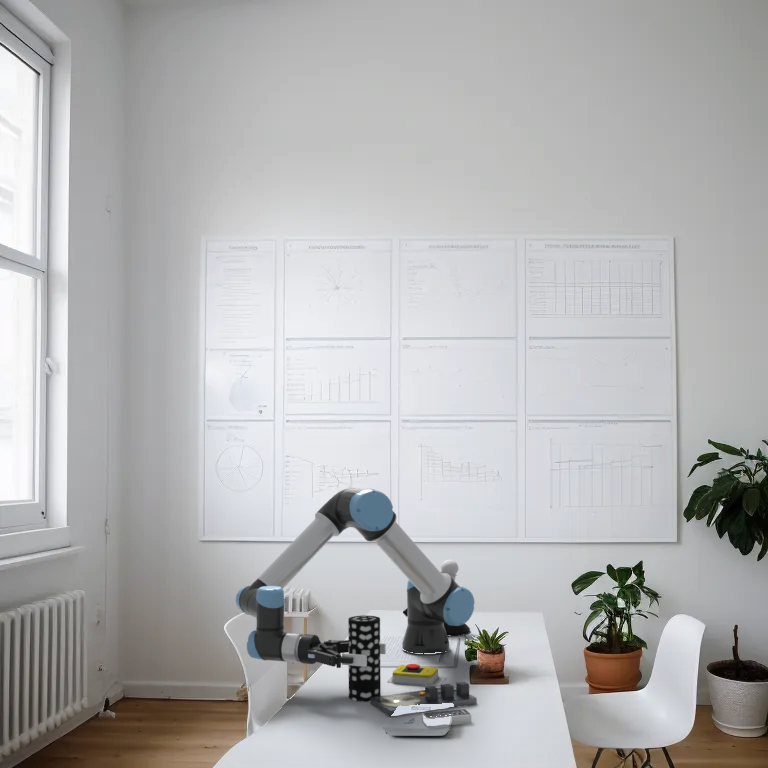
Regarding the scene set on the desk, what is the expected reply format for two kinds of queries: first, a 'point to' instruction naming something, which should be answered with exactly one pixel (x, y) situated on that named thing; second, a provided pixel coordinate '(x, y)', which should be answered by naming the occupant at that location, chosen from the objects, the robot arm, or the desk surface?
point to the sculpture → (452, 569)
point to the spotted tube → (367, 643)
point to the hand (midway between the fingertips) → (376, 654)
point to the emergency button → (417, 675)
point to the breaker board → (416, 693)
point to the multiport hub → (457, 716)
